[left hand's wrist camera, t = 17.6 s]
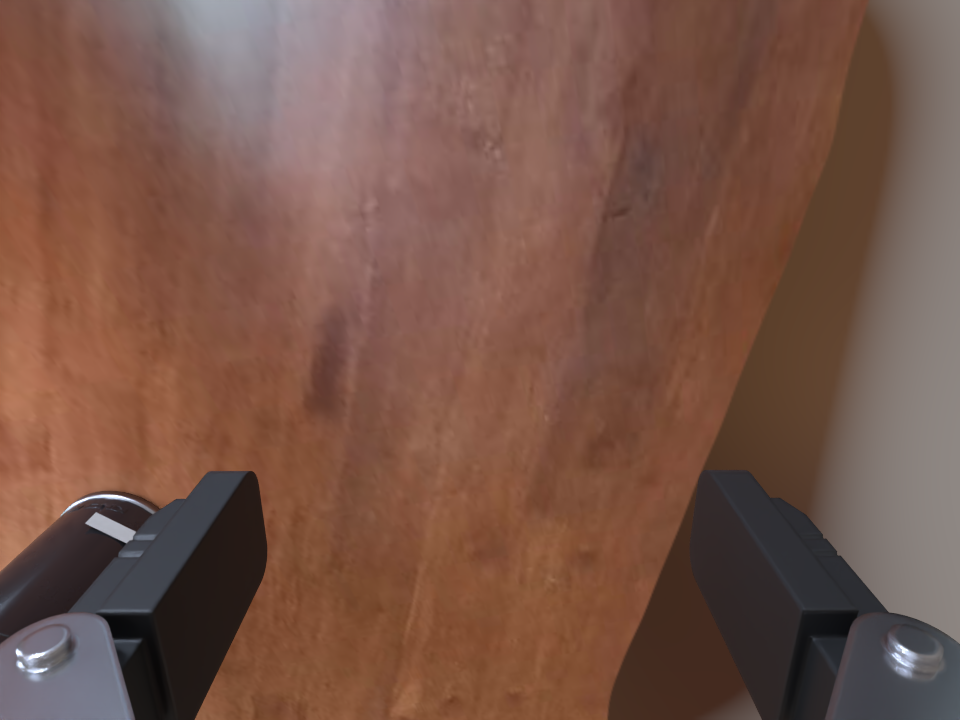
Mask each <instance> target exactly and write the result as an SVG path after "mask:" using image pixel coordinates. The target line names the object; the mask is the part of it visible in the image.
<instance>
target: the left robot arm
mask: <svg viewBox="0 0 960 720" xmlns="http://www.w3.org/2000/svg"><path fill="white" fill-rule="evenodd" d="M266 561H267V541H266V534H265V526H264V519H263V512H262V505H261V498H260V491H259V484H258V479H257V477H256V475H255V473H254V472H252V471H210V472H208V473H207V474H206V475H205V476H204V477H203V478H202V480H201V481H200V482H199V483H198V485H197V486H196V487H195V488H194V490H193V491H192V492H191V493H190V495H189V496H188V497H187V498H186V499H176V500H174V501H173V502H171V503H170V504H168V505H166V506H165V507H163V508H162V509H159V508H157V507H156V506H155V505H153V504H152V503H150V502H148V501H146V500H145V499H142V498H140V497H138V496H135V495H132V494H129V493H124V492H118V491H101V492H95V493H91V494H88V495H86V496H83V497H81V498H80V499H78V500H77V501H75V502H74V503H73V504H72V505H71V506H69V507H68V508H67V509H66V510H65V511H64V512H63V514H62V515H61V516H60V518H59V519H57V520H56V521H55V522H54V523H53V524H52V525H51V526H50V527H49V528H48V529H47V530H45V531H44V532H43V533H42V534H41V535H40V536H39V537H37V538H36V539H35V540H34V541H33V542H32V543H31V544H30V545H29V546H28V547H27V548H25V549H24V550H23V551H22V552H21V553H20V554H19V555H18V556H17V557H16V558H15V559H14V560H12V561H11V562H10V563H9V564H8V565H7V566H6V567H5V568H4V569H3V570H2V571H0V720H194V719H195V717H196V715H197V713H198V711H199V709H200V707H201V705H202V703H203V701H204V699H205V697H206V695H207V693H208V690H209V688H210V686H211V684H212V682H213V680H214V678H215V676H216V674H217V672H218V670H219V668H220V666H221V664H222V662H223V660H224V657H225V655H226V653H227V651H228V649H229V647H230V645H231V643H232V641H233V639H234V637H235V635H236V633H237V631H238V629H239V627H240V624H241V622H242V620H243V618H244V616H245V614H246V612H247V610H248V608H249V606H250V604H251V602H252V600H253V598H254V596H255V593H256V591H257V589H258V587H259V585H260V583H261V581H262V579H263V576H264V572H265V568H266ZM690 562H691V567H692V572H693V575H694V578H695V580H696V582H697V585H698V587H699V589H700V591H701V593H702V595H703V597H704V599H705V601H706V603H707V605H708V608H709V610H710V612H711V614H712V616H713V618H714V620H715V622H716V624H717V626H718V628H719V630H720V633H721V635H722V637H723V639H724V641H725V643H726V645H727V647H728V649H729V651H730V653H731V656H732V658H733V660H734V662H735V664H736V666H737V668H738V670H739V672H740V674H741V676H742V679H743V681H744V683H745V685H746V687H747V689H748V691H749V693H750V695H751V697H752V699H753V701H754V704H755V706H756V708H757V710H758V712H759V714H760V716H761V718H762V720H960V644H959V643H958V642H956V641H955V640H954V639H952V638H951V637H950V636H948V635H947V634H945V633H944V632H942V631H940V630H939V629H937V628H935V627H933V626H931V625H929V624H927V623H924V622H922V621H919V620H917V619H914V618H911V617H908V616H904V615H900V614H895V613H889V612H888V611H887V610H886V609H885V608H884V606H883V605H882V604H881V603H880V602H879V600H878V599H877V598H876V597H875V596H874V595H873V593H872V592H871V591H870V590H869V589H868V587H867V586H866V585H865V584H864V583H863V582H862V580H861V579H860V578H859V577H858V576H857V574H856V573H855V572H854V571H853V570H852V569H851V567H850V566H849V565H848V564H847V563H846V561H845V560H844V559H843V558H842V557H841V556H838V555H837V551H836V550H835V549H834V547H833V546H832V545H831V544H830V543H829V541H828V540H827V539H823V534H822V533H821V532H820V531H819V530H818V528H817V527H816V526H815V525H814V524H813V523H812V521H811V520H810V519H809V518H808V517H807V515H805V514H804V513H802V512H801V511H799V510H798V509H796V508H795V507H793V506H791V505H790V504H788V503H787V502H785V501H784V500H782V499H781V498H770V497H769V496H768V495H767V493H766V492H765V491H764V490H763V488H762V487H761V486H760V484H759V483H758V482H757V481H756V479H755V478H754V477H753V476H752V474H751V473H750V472H749V471H747V470H704V471H703V472H702V473H701V475H700V477H699V481H698V487H697V494H696V502H695V509H694V516H693V524H692V531H691V538H690Z"/></svg>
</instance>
